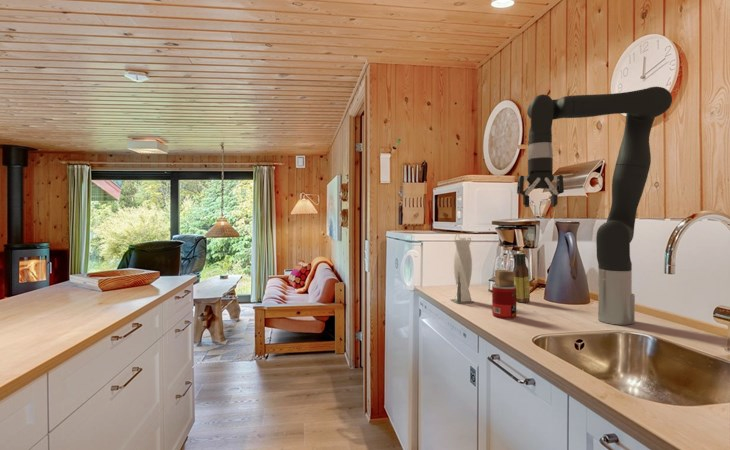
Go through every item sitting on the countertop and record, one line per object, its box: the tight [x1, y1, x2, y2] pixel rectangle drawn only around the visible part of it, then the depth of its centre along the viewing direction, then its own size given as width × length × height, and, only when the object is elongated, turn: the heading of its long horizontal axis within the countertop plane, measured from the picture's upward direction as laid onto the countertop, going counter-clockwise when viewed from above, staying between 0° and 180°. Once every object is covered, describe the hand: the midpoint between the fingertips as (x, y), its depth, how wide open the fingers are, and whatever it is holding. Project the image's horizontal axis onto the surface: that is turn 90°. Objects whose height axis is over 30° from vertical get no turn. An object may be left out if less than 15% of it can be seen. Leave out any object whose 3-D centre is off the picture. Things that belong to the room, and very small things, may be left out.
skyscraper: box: [449, 233, 475, 305], centre depth 159 cm, size 8×8×28 cm
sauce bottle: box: [512, 252, 531, 304], centre depth 158 cm, size 7×6×20 cm
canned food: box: [491, 283, 517, 320], centre depth 135 cm, size 8×8×11 cm
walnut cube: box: [494, 269, 514, 286], centre depth 135 cm, size 5×5×5 cm
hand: (540, 206), depth 128 cm, fingers open, 8 cm apart
